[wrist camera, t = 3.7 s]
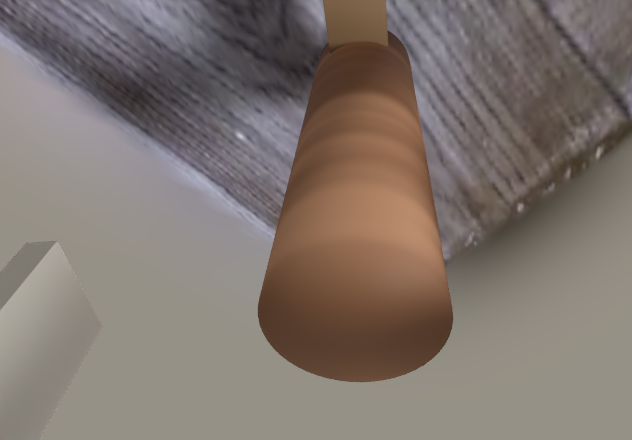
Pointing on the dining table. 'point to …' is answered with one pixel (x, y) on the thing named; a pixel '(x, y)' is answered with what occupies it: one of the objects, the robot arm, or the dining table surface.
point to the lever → (358, 217)
